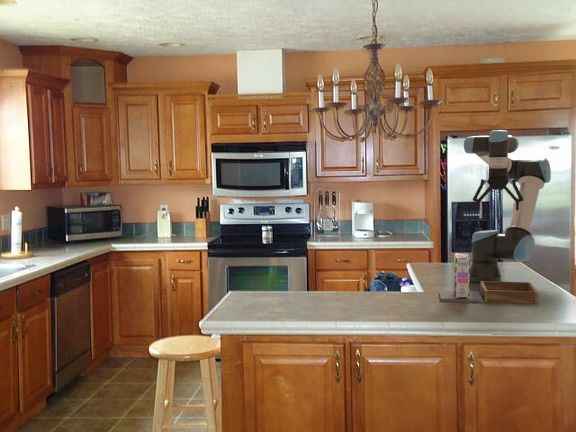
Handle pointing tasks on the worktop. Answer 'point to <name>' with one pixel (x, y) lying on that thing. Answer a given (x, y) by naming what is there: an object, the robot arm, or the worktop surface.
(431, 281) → the worktop surface
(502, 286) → the crate
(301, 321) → the worktop surface
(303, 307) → the worktop surface
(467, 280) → the candy box
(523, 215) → the robot arm
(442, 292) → the plate
